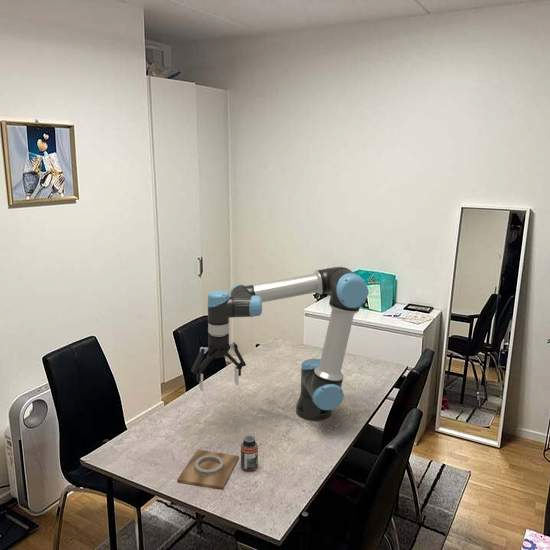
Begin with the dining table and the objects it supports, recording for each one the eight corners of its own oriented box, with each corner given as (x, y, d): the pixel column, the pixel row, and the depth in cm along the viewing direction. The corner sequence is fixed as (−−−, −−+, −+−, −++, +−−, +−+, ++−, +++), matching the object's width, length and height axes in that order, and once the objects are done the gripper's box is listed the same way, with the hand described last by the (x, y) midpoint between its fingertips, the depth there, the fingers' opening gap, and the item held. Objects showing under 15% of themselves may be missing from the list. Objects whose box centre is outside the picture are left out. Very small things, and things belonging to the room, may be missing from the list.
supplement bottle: (240, 462, 183) (240, 433, 180) (257, 461, 183) (257, 433, 181) (240, 472, 177) (240, 443, 174) (258, 471, 178) (258, 442, 175)
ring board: (238, 458, 185) (238, 451, 184) (222, 489, 168) (222, 482, 167) (197, 451, 188) (197, 445, 188) (177, 482, 171) (177, 475, 171)
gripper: (247, 326, 195) (247, 377, 200) (182, 333, 186) (183, 387, 191) (254, 332, 188) (253, 385, 193) (186, 341, 179) (188, 396, 184)
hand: (219, 386), depth 192 cm, fingers open, 13 cm apart
